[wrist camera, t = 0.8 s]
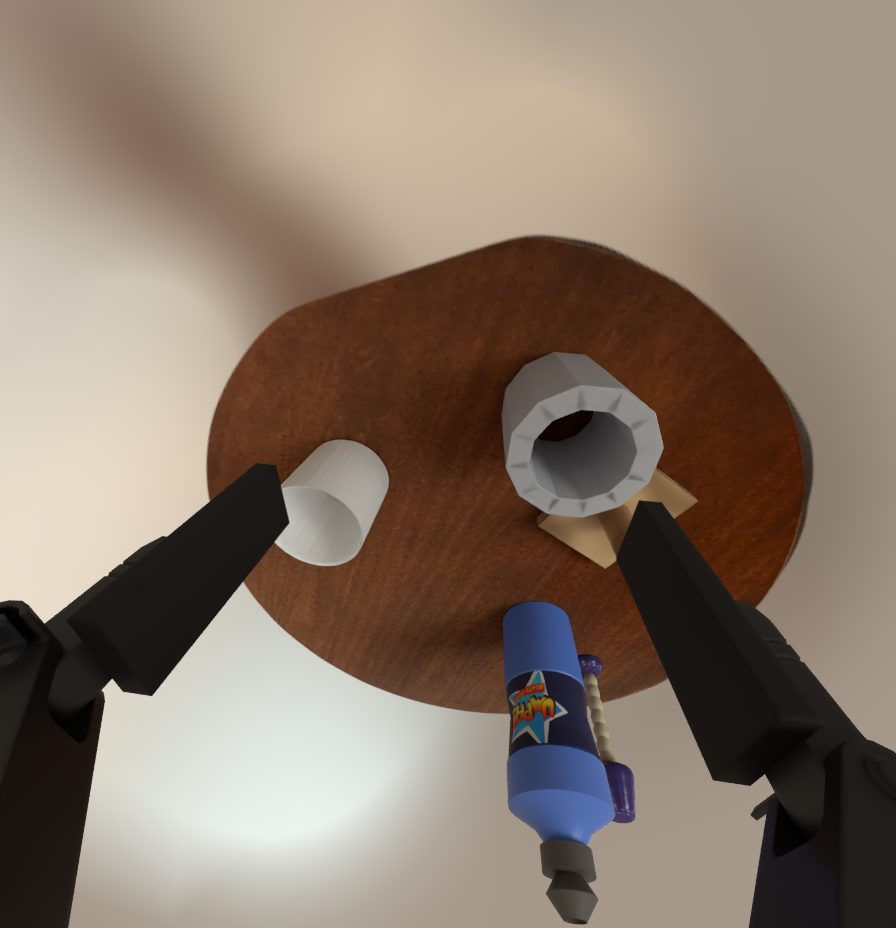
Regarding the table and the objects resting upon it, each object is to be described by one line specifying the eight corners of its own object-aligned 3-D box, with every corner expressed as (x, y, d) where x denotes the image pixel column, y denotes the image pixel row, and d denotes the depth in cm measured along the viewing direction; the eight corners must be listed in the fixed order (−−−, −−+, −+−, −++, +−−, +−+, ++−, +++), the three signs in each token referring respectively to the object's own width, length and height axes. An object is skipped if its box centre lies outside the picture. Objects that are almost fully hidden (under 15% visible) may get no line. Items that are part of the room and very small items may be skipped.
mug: (378, 433, 35) (345, 482, 27) (397, 504, 40) (374, 564, 32) (274, 444, 37) (215, 491, 29) (303, 510, 42) (258, 568, 34)
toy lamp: (563, 668, 52) (592, 822, 37) (572, 650, 49) (607, 807, 35) (595, 673, 51) (637, 830, 37) (606, 655, 49) (654, 815, 35)
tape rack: (619, 440, 33) (665, 500, 24) (690, 492, 35) (757, 566, 26) (536, 517, 38) (549, 589, 30) (601, 559, 40) (632, 637, 32)
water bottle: (488, 614, 47) (488, 903, 26) (549, 591, 44) (608, 902, 22) (523, 650, 51) (549, 935, 29) (582, 632, 47) (662, 939, 25)
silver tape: (552, 328, 29) (580, 353, 20) (637, 395, 31) (696, 444, 22) (481, 418, 33) (479, 470, 25) (559, 472, 35) (582, 537, 27)
